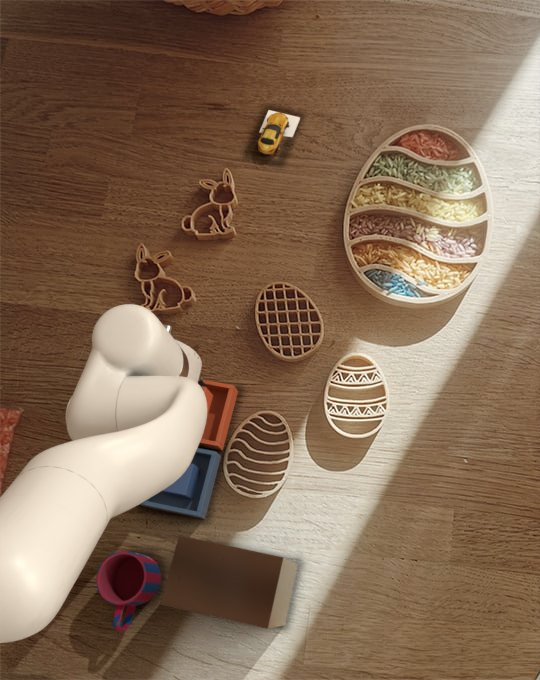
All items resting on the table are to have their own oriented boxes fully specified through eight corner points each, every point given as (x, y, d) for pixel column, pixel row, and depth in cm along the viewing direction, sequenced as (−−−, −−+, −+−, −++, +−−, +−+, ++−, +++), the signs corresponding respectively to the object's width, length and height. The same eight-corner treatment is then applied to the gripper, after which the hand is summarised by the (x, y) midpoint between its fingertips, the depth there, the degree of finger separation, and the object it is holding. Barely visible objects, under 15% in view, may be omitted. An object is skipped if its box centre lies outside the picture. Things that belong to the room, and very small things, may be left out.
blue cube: (192, 499, 105) (185, 495, 100) (163, 493, 105) (154, 489, 101) (200, 469, 106) (193, 463, 102) (172, 463, 107) (163, 457, 102)
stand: (285, 625, 99) (267, 628, 84) (193, 604, 100) (160, 604, 85) (298, 564, 101) (283, 557, 86) (208, 545, 103) (178, 535, 88)
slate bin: (205, 519, 104) (199, 516, 101) (144, 506, 105) (136, 503, 102) (221, 456, 107) (216, 451, 104) (162, 444, 108) (155, 439, 105)
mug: (167, 559, 103) (152, 555, 96) (148, 634, 99) (132, 636, 93) (121, 550, 103) (104, 547, 97) (102, 625, 100) (82, 626, 94)
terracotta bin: (223, 451, 107) (217, 446, 104) (163, 439, 108) (156, 434, 105) (238, 391, 110) (233, 385, 107) (180, 381, 111) (174, 374, 108)
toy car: (293, 119, 126) (291, 111, 124) (276, 160, 124) (274, 152, 121) (271, 114, 127) (269, 105, 125) (254, 154, 124) (251, 146, 122)
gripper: (146, 298, 91) (184, 346, 108) (105, 429, 85) (152, 458, 103) (204, 308, 90) (233, 355, 107) (166, 441, 85) (203, 468, 102)
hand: (193, 405), depth 105 cm, fingers closed on terracotta block, 4 cm apart
